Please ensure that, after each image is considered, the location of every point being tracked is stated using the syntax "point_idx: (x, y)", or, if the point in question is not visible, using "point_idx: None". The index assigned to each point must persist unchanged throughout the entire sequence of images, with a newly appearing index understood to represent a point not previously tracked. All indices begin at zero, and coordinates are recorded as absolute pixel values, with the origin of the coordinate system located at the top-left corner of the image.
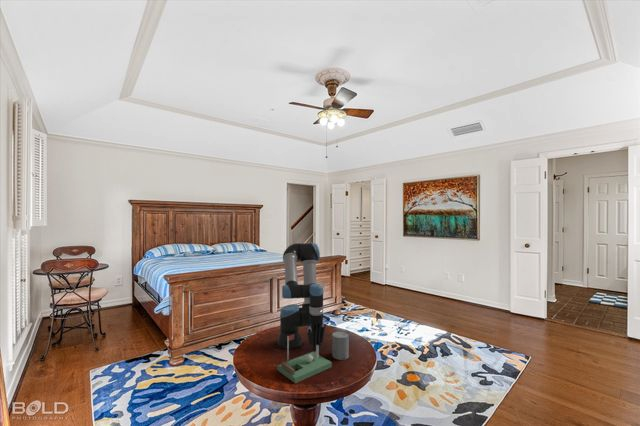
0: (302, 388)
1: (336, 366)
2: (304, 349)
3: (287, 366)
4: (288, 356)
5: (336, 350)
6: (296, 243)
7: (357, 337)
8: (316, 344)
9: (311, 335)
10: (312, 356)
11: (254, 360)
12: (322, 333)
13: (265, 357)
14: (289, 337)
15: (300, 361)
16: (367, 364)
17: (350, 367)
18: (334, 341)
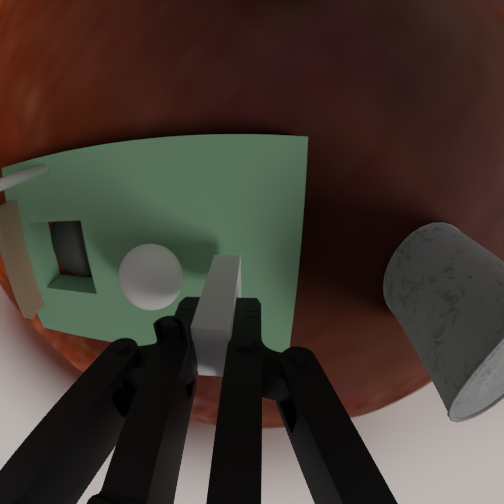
0: (72, 351)
1: (310, 344)
2: (321, 12)
3: (6, 270)
4: (16, 184)
5: (407, 323)
6: None
7: None
8: (194, 386)
9: (71, 484)
10: (166, 305)
11: (10, 22)
12: (312, 496)
13: (49, 2)
14: None
15: (110, 212)
16: (408, 389)
17: (348, 379)
18: (442, 351)
